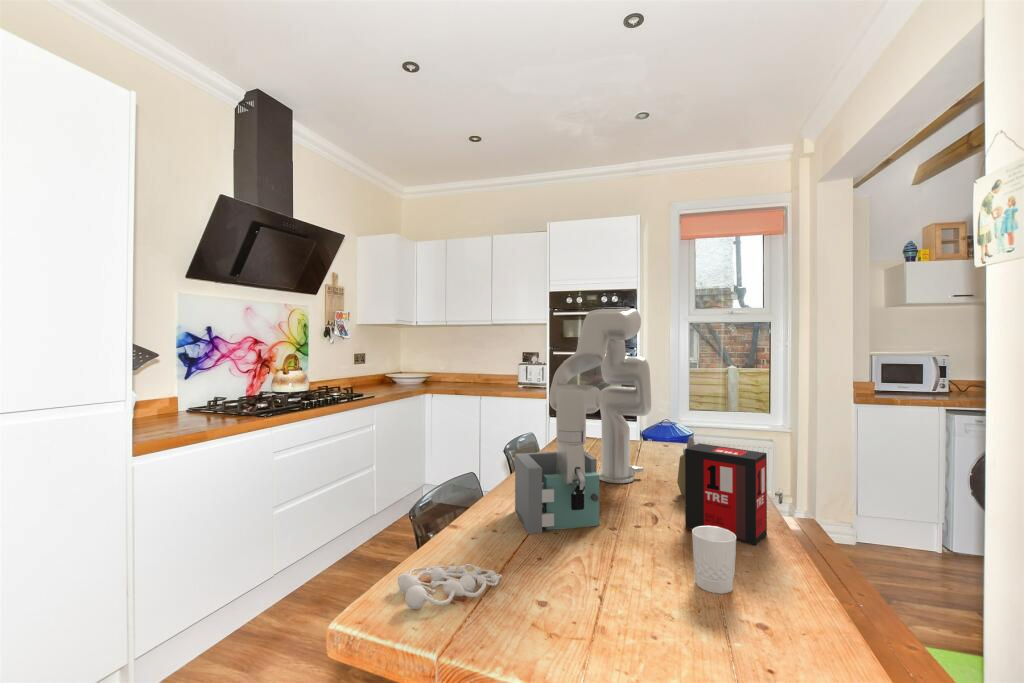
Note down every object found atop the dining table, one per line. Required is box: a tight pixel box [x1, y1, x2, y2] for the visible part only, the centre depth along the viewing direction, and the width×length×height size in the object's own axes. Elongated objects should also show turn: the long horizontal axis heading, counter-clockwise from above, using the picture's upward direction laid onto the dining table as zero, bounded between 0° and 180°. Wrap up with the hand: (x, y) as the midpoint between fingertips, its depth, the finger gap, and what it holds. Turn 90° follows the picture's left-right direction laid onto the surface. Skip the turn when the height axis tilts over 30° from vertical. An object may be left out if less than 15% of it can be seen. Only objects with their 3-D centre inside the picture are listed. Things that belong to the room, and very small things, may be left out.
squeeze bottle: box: [676, 436, 696, 498], centre depth 145 cm, size 8×8×18 cm
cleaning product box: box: [684, 443, 768, 547], centre depth 118 cm, size 16×9×20 cm, turn 47°
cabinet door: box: [544, 472, 600, 531], centre depth 121 cm, size 14×4×13 cm, turn 101°
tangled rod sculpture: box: [397, 563, 503, 610], centre depth 91 cm, size 19×14×4 cm
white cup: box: [691, 526, 737, 595], centre depth 92 cm, size 8×8×10 cm
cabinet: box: [514, 450, 598, 535], centre depth 126 cm, size 20×16×16 cm
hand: (571, 502), depth 122 cm, fingers open, 9 cm apart
